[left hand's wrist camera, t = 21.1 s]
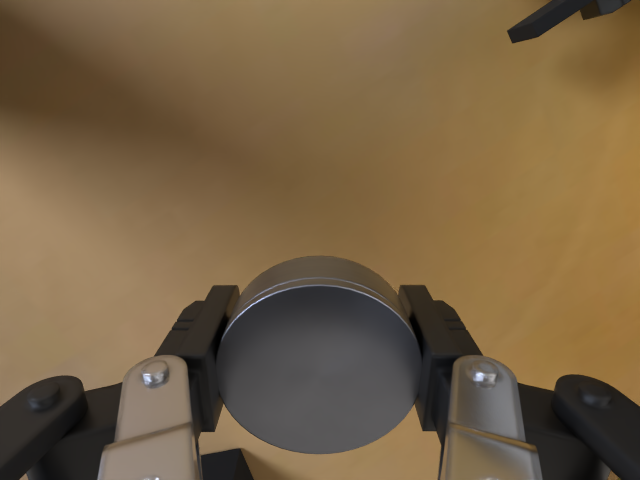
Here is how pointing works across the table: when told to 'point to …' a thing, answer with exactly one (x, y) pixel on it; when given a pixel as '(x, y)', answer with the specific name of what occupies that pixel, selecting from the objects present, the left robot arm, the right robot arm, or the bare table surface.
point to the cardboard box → (225, 466)
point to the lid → (319, 357)
